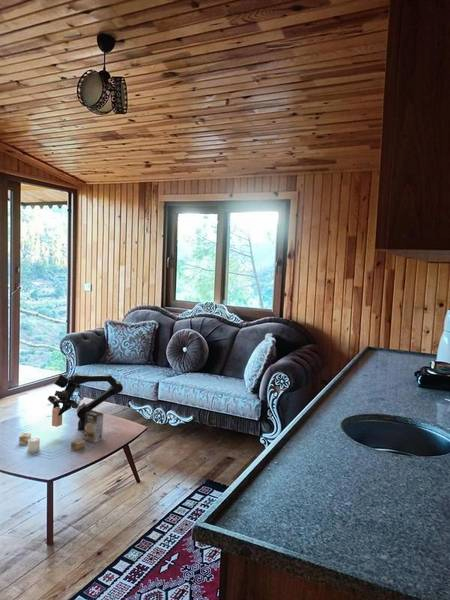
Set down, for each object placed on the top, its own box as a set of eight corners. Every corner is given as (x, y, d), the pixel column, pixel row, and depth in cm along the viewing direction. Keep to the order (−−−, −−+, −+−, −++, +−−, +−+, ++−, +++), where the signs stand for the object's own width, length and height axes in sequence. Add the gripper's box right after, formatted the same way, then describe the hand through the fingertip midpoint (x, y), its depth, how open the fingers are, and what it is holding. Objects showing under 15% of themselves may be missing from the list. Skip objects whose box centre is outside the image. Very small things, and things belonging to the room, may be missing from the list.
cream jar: (41, 448, 248) (41, 438, 247) (36, 453, 242) (36, 442, 241) (31, 447, 248) (31, 437, 248) (25, 452, 242) (25, 441, 242)
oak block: (30, 440, 258) (30, 433, 257) (28, 444, 253) (28, 436, 252) (21, 440, 257) (21, 433, 256) (18, 444, 252) (19, 436, 252)
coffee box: (83, 439, 264) (84, 412, 262) (90, 435, 270) (91, 410, 268) (95, 442, 260) (96, 416, 259) (102, 439, 266) (103, 413, 264)
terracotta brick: (62, 424, 266) (62, 406, 265) (57, 426, 263) (57, 408, 262) (56, 423, 268) (57, 405, 267) (51, 425, 264) (52, 407, 263)
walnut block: (84, 448, 251) (84, 441, 251) (77, 452, 247) (78, 444, 247) (77, 446, 254) (77, 439, 253) (70, 450, 249) (71, 442, 249)
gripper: (50, 382, 270) (36, 405, 260) (75, 387, 264) (62, 411, 254) (58, 392, 278) (45, 414, 269) (83, 396, 272) (70, 420, 262)
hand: (55, 414), depth 263 cm, fingers closed on terracotta brick, 4 cm apart
